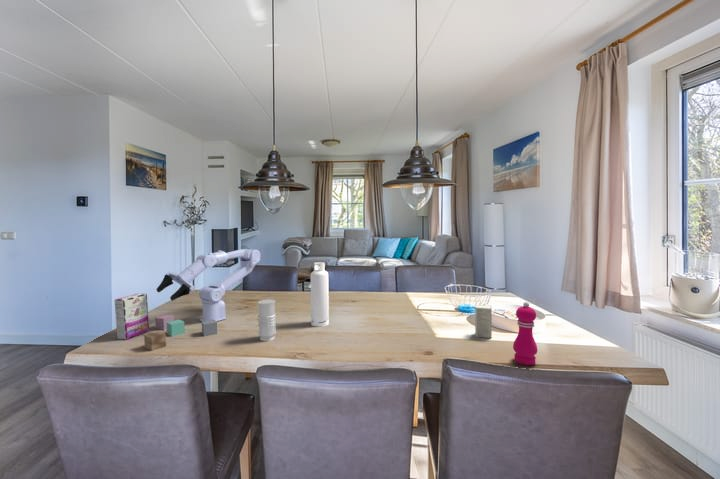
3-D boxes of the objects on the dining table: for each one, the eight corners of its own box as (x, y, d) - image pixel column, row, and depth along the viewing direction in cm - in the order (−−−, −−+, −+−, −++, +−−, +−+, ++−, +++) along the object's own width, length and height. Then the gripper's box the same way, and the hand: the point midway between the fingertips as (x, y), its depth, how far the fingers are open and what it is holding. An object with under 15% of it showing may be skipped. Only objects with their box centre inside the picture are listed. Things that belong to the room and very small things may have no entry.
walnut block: (158, 344, 126) (158, 331, 126) (165, 346, 123) (165, 333, 123) (144, 348, 122) (144, 335, 121) (152, 351, 119) (151, 337, 119)
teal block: (179, 330, 141) (179, 319, 140) (184, 333, 138) (184, 321, 137) (167, 334, 137) (166, 322, 137) (171, 336, 134) (171, 324, 133)
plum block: (165, 325, 148) (165, 314, 148) (174, 326, 146) (173, 315, 146) (155, 328, 143) (155, 317, 143) (164, 330, 142) (163, 318, 141)
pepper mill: (514, 354, 114) (516, 298, 113) (538, 359, 110) (540, 301, 109) (510, 362, 108) (512, 302, 107) (535, 367, 104) (537, 306, 103)
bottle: (307, 325, 147) (306, 263, 145) (316, 320, 154) (316, 261, 153) (323, 327, 144) (322, 264, 142) (332, 322, 151) (331, 262, 150)
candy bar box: (139, 330, 142) (138, 292, 141) (149, 330, 141) (147, 293, 140) (115, 339, 131) (113, 299, 130) (126, 340, 130) (124, 299, 129)
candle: (260, 342, 126) (259, 304, 125) (257, 337, 132) (256, 300, 132) (278, 339, 129) (277, 302, 129) (274, 334, 136) (273, 298, 135)
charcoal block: (214, 330, 141) (214, 319, 140) (217, 334, 137) (216, 322, 136) (202, 333, 138) (201, 321, 137) (204, 336, 134) (203, 324, 133)
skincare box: (491, 334, 134) (491, 305, 133) (491, 338, 129) (492, 308, 129) (474, 333, 136) (475, 304, 135) (474, 336, 131) (475, 307, 131)
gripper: (175, 260, 144) (148, 281, 135) (201, 275, 141) (175, 297, 132) (179, 270, 149) (153, 291, 140) (204, 284, 146) (179, 307, 137)
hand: (164, 295), depth 136 cm, fingers open, 7 cm apart
